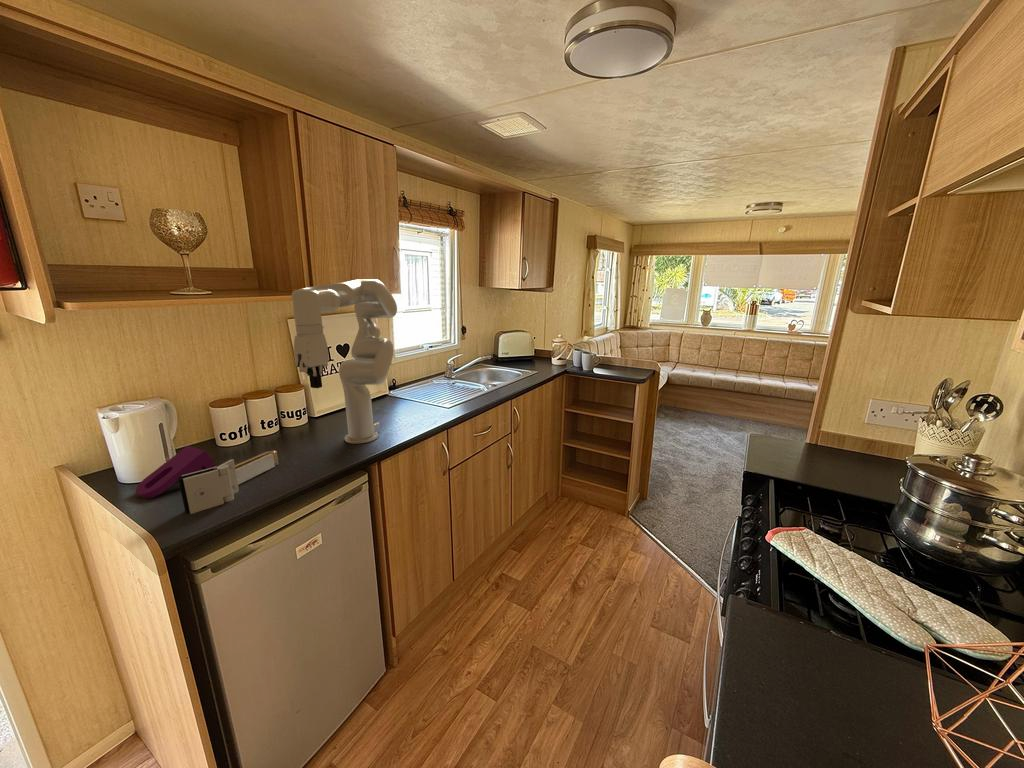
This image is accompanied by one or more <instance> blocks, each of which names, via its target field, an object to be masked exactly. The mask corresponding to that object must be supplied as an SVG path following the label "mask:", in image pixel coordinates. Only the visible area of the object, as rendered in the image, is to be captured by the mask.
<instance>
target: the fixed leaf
mask: <svg viewBox="0 0 1024 768" xmlns="http://www.w3.org/2000/svg"><path fill="white" fill-rule="evenodd" d="M268 454H273V458H274V464H275V467H277V466H278V465H279V459H278V452H277V450H275V449H274V450H269V451H265V452H262V453H260V454H258V455H256V456H253V457H251V458H249V459H247V460H244V461H242V462H240V463H237V464H235V469H237V468H240V467H242V466H244V465H246V464H248V463H250V462H253V461H255V460H257V459H259V458H261V457H264V456H266V455H268Z"/></svg>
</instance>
